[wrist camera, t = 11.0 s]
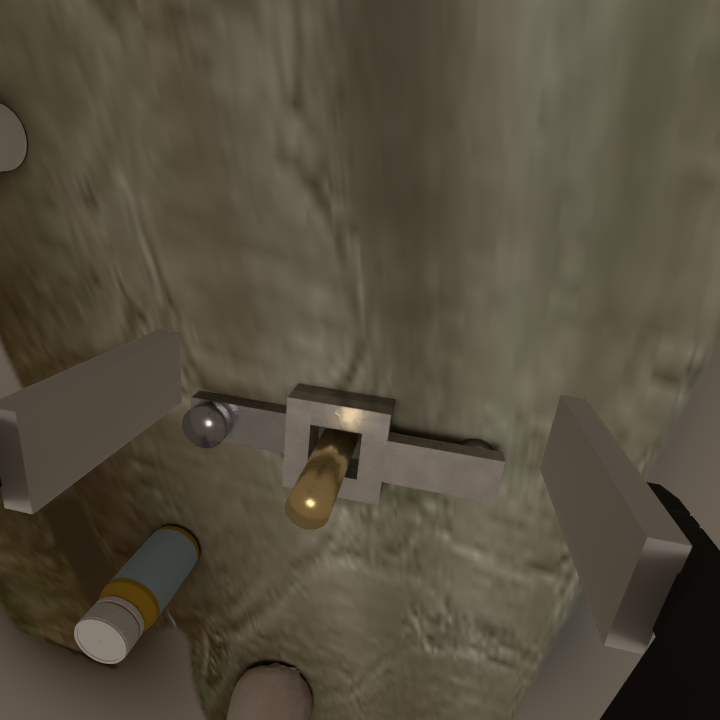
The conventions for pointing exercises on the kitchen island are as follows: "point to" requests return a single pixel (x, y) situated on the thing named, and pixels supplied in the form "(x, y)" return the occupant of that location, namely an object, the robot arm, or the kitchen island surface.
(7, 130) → the cup
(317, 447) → the pin
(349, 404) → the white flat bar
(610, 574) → the robot arm
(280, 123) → the kitchen island surface
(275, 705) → the sculpture
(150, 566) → the bottle
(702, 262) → the kitchen island surface
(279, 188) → the kitchen island surface
